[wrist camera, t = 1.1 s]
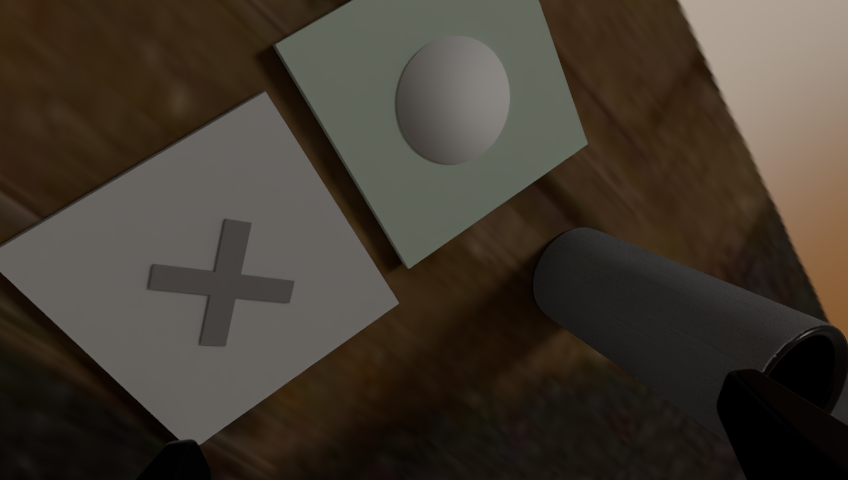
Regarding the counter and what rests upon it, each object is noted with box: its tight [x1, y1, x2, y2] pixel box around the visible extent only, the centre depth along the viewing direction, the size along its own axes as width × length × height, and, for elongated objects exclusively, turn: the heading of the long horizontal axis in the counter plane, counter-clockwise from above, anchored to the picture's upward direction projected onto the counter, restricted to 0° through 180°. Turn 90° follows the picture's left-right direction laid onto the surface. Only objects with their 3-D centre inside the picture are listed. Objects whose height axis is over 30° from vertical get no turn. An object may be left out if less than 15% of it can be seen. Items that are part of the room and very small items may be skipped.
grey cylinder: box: [533, 228, 848, 444], centre depth 20 cm, size 4×4×10 cm
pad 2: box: [272, 0, 588, 269], centre depth 19 cm, size 9×9×1 cm
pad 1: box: [0, 91, 399, 445], centre depth 18 cm, size 9×9×1 cm
